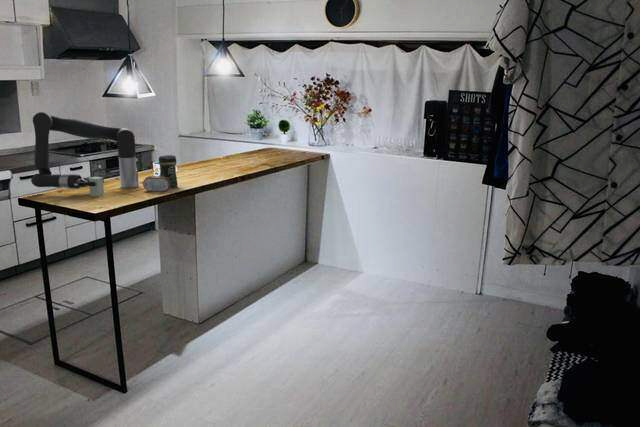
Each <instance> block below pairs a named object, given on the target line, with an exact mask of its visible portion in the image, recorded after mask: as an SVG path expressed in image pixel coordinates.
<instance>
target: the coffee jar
mask: <svg viewBox="0 0 640 427" xmlns="http://www.w3.org/2000/svg"><path fill="white" fill-rule="evenodd" d="M158 165H159V168H160V169H159V170H160V171H159V172H160V173H159V174H160V175H159V176H161V177H167V178H168V179H169V180H170V182H171V187H170V189H174V188H177V187H178V179H177V171H176V170H177V169H176V166H177V157H176V155H173V154H166V155H160V156H159V157H158Z"/></svg>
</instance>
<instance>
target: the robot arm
mask: <svg viewBox="0 0 640 427" xmlns="http://www.w3.org/2000/svg"><path fill="white" fill-rule="evenodd" d="M32 124H33V129H34V136H35V140H34V142H35V145H34V161H33V162H34V168H35V169H37V170H38V173H35V174H34V175H32V176H31V179H30V182H31V184H32V185H33V186H34V187H36V188H60V189H61V188H62V189H71V190H72V189H74V190H76V189H77V190H79V189H81V188H86V187H89V186H96V183H95V182H89V178H92V177H93V176H90V177H89V176H86V177H83V178H82V176H81V175H80V174H71V173H70V174H69V173H68V174H66V173H65V174H57V173H56V174H52V172H51V168H50V145H49V141H50V140H49V138H50V137H49V136H50V131H53V132H61V133H64V134H69V135H72V136H75V137H79V138H84V139H93V140H110V141H113V142H117V155H118V166H119V177H120V178H119V179H120V188H123V189H130V188H137V187H139V186H140V185H139V184H140V183H139V182H140V181H139V171H138V169H137V160H136V159H137V158H136V151H137V150H136V139H135V134H134V132H133V131H132V130H130V129H129V128H126V127H116V126H115V127H114V126H107V125H104V124H102V123H101V124H100V123H97V122H92V121H87V120H83V119H74V118H63V117H58V116H54V115H50V114H48V113H46V112H43V111H40V112H36V113H35V114H34V115H33V117H32ZM104 180H105V179H104V178H103V184H104V183H105V181H104Z"/></svg>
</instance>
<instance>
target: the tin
mask: <svg viewBox="0 0 640 427" xmlns="http://www.w3.org/2000/svg"><path fill="white" fill-rule="evenodd" d="M142 186H143V188H144V189H145V190H146V191H147V192H155V193H157V192H161V193H163V192H164V193H165V192H167V191H169V190H170V189H171V188H170V187H171V182H170V180H169V179H168V178H167V177H161V176H160V175H159V176H158V175H157V176H154V175H151V176H150V175H149V176H147V177H146V178H144V180H143V182H142Z"/></svg>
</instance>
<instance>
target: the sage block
mask: <svg viewBox="0 0 640 427" xmlns="http://www.w3.org/2000/svg"><path fill="white" fill-rule="evenodd" d="M91 177H92V178H89V182H95V183H96V186H88V187H89V194H90V197H101V196H103V195H105V190H104V183H103V179H104V178H103V176H91Z"/></svg>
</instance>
